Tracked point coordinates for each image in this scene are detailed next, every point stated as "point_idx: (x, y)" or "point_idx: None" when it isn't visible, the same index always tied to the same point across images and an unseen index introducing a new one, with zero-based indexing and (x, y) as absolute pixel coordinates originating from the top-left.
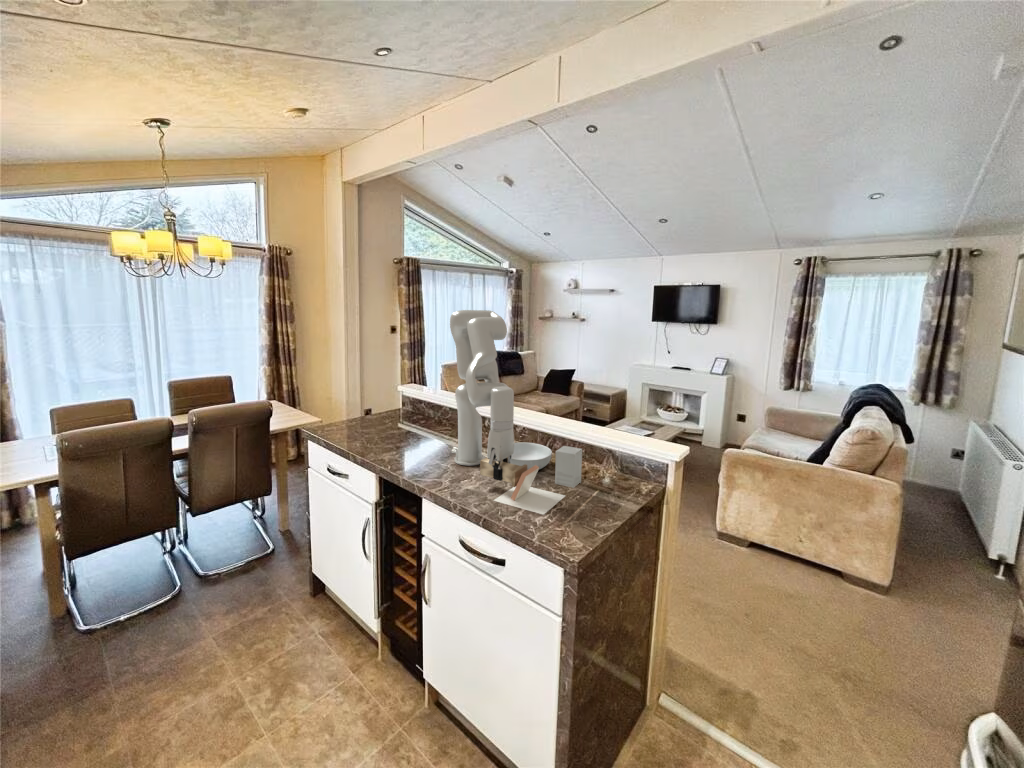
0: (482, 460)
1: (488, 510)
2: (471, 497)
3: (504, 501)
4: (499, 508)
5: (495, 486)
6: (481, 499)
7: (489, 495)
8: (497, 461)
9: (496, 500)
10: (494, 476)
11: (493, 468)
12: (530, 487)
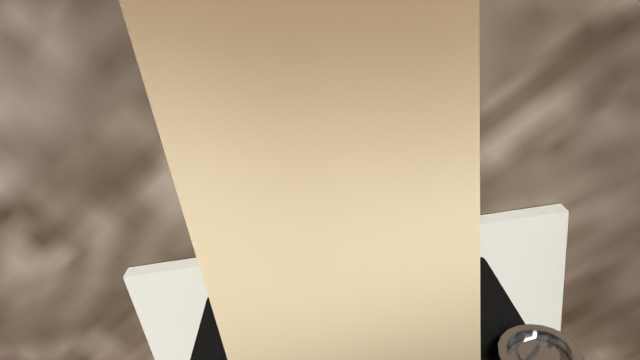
0: (181, 32)
1: (6, 327)
2: (22, 55)
3: (184, 343)
4: (98, 357)
5: None
6: (80, 160)
7: None
8: (413, 346)
9: (145, 295)
10: (206, 302)
11: (213, 341)
12: (547, 326)
